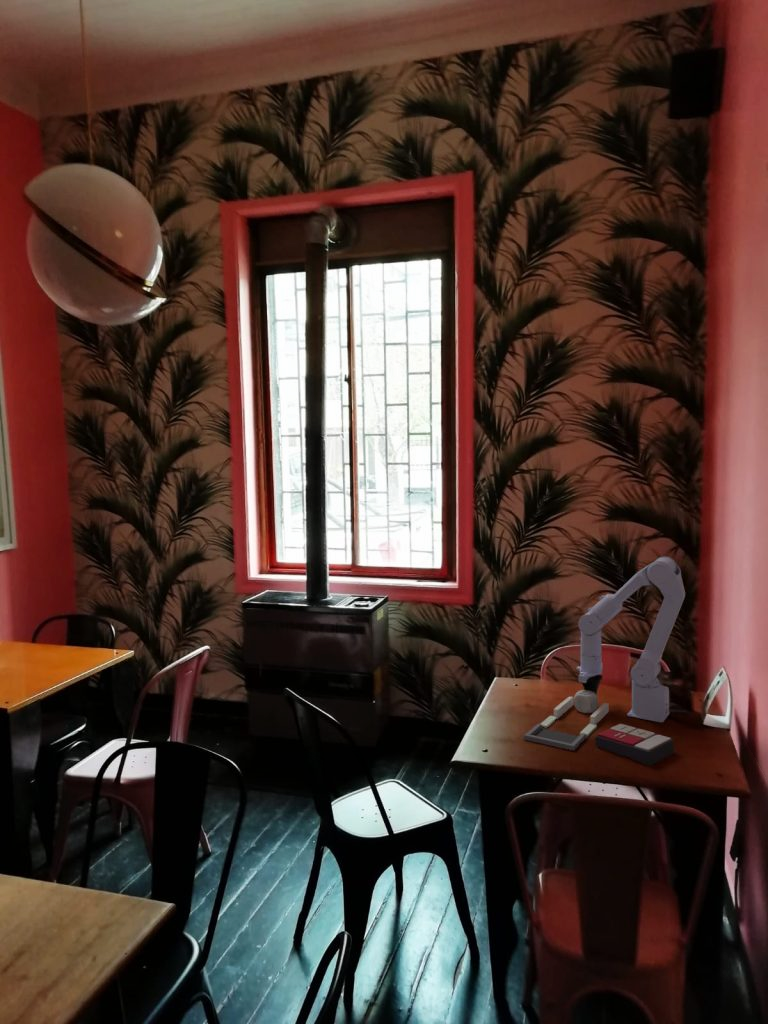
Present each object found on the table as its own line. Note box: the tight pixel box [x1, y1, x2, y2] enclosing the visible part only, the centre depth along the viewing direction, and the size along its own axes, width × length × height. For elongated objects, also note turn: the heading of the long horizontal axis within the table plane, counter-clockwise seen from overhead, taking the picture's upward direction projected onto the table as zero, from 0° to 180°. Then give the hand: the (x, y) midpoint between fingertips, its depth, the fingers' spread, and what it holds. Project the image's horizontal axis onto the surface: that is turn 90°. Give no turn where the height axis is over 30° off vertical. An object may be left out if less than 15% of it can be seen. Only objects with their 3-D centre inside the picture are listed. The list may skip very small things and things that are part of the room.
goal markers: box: [540, 715, 598, 738], centre depth 190 cm, size 13×8×1 cm, turn 55°
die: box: [573, 689, 599, 714], centre depth 201 cm, size 5×5×5 cm
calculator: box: [594, 723, 675, 767], centre depth 175 cm, size 11×4×15 cm
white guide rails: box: [553, 696, 610, 725], centre depth 198 cm, size 11×12×2 cm
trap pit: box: [523, 723, 587, 752], centre depth 182 cm, size 13×9×1 cm
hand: (590, 700), depth 205 cm, fingers closed
